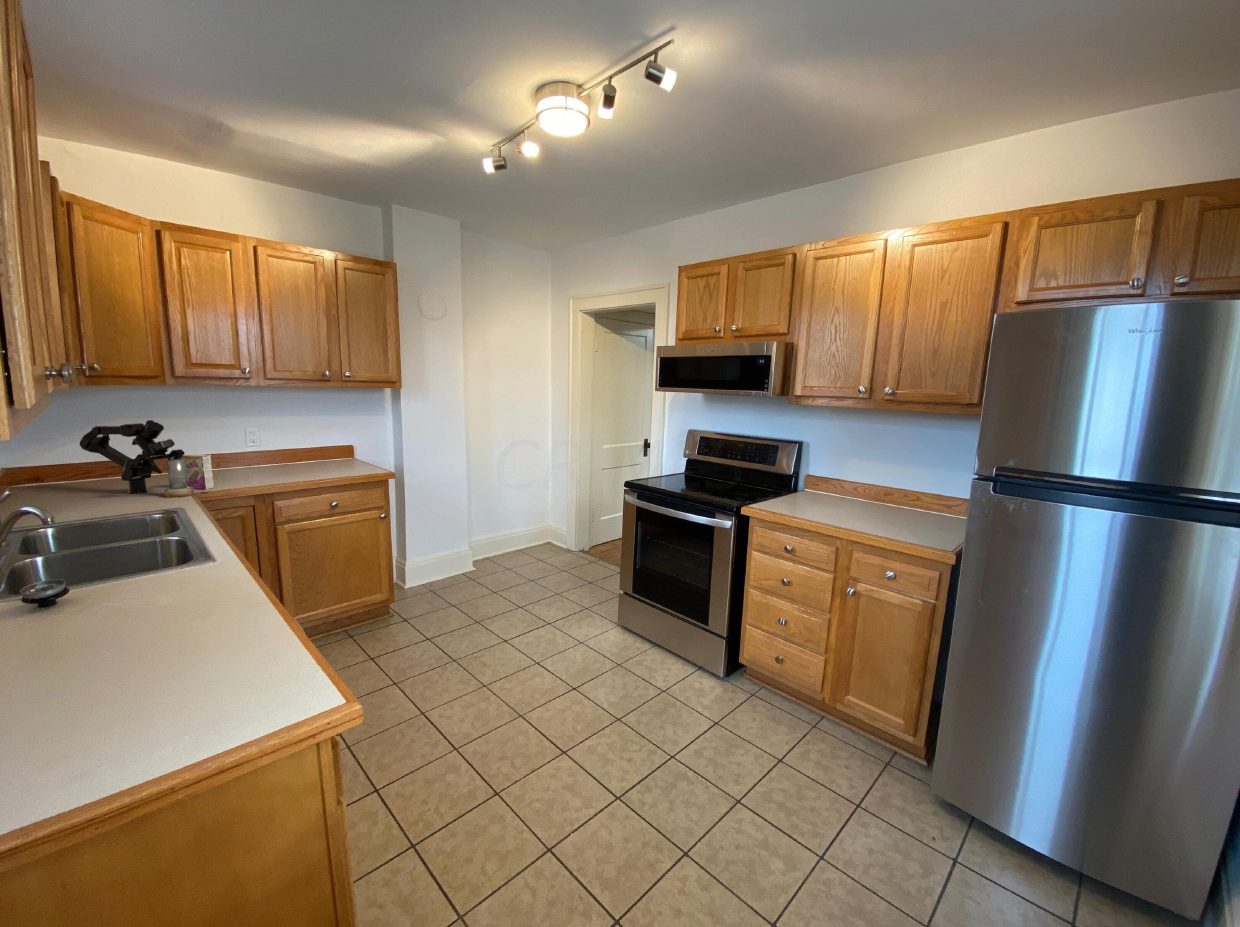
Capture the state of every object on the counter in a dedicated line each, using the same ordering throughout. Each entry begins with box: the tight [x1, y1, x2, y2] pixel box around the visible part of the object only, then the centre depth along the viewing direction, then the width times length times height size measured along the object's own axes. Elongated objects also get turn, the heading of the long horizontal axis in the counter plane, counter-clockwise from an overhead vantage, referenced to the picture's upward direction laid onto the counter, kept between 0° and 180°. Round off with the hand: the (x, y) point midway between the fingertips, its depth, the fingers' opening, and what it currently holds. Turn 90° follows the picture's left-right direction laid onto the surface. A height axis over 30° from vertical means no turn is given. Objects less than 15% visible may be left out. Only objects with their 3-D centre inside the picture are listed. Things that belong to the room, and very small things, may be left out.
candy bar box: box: [181, 453, 215, 490], centre depth 242 cm, size 11×5×16 cm, turn 84°
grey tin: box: [166, 458, 187, 490], centre depth 227 cm, size 6×6×13 cm
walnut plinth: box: [163, 487, 195, 498], centre depth 229 cm, size 10×10×3 cm
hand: (171, 471), depth 227 cm, fingers open, 9 cm apart
